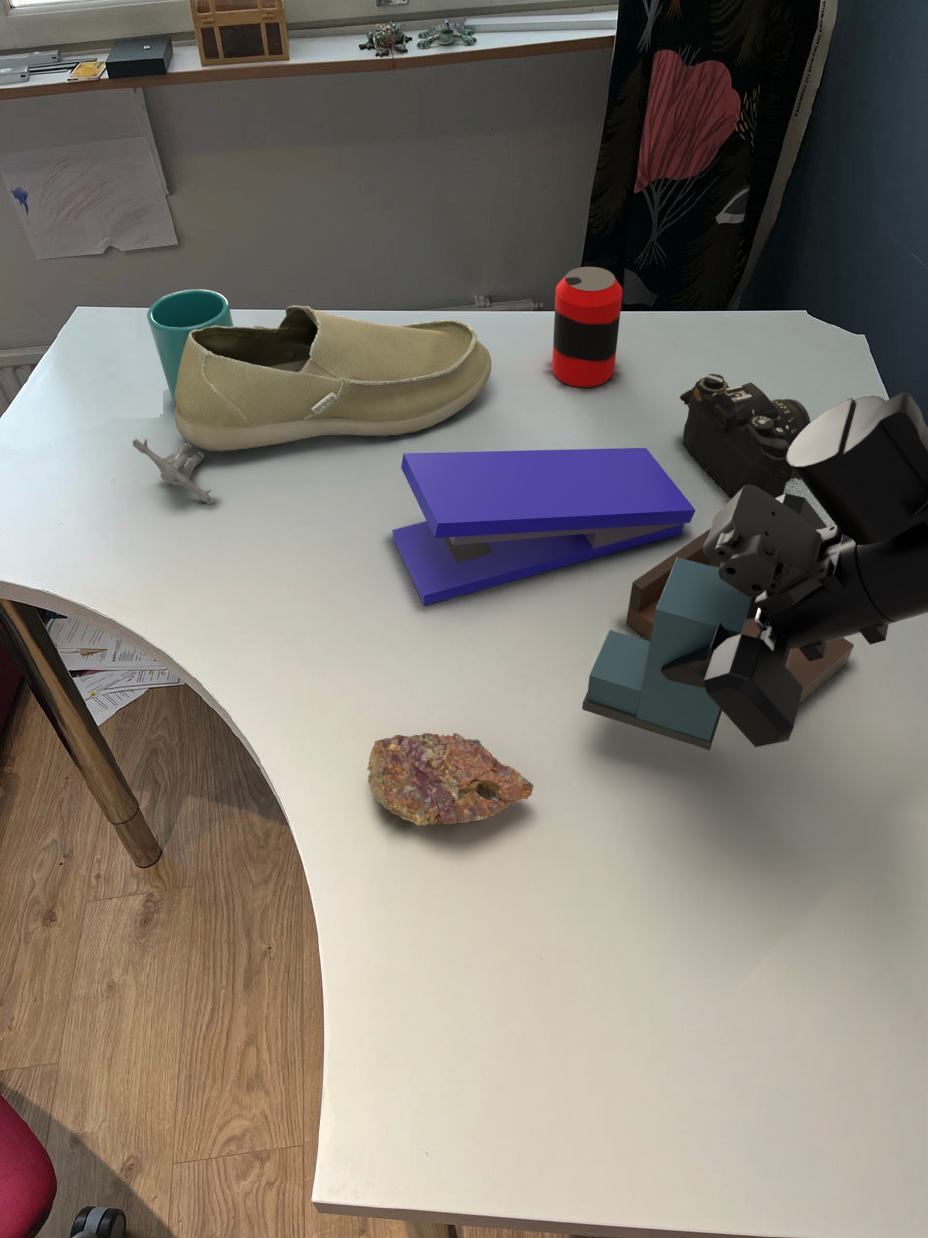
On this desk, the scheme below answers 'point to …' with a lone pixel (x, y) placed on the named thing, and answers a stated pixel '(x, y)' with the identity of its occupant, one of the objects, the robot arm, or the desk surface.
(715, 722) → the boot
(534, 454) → the stapler
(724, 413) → the film camera
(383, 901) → the desk surface
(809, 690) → the brown lipped tray
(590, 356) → the soda can
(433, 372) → the loafer
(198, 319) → the cup
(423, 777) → the mineral specimen
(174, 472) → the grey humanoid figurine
